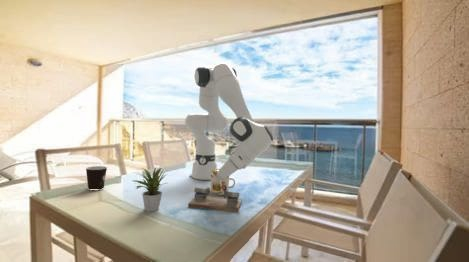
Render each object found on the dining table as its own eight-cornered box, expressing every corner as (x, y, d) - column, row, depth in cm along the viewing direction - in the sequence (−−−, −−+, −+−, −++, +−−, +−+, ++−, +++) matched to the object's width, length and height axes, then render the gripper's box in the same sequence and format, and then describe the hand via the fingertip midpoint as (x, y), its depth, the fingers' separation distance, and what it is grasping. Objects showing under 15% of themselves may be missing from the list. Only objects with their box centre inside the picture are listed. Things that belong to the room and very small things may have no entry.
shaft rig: (197, 198, 112) (197, 183, 112) (241, 202, 109) (242, 187, 109) (188, 207, 100) (188, 190, 100) (237, 212, 97) (238, 195, 97)
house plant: (141, 201, 104) (142, 162, 104) (174, 203, 104) (175, 163, 103) (125, 213, 90) (126, 168, 89) (163, 215, 90) (165, 170, 89)
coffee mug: (95, 192, 113) (95, 170, 113) (80, 189, 116) (81, 168, 116) (115, 186, 124) (115, 166, 124) (101, 184, 127) (102, 164, 127)
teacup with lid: (209, 195, 118) (210, 170, 117) (210, 189, 127) (211, 166, 126) (235, 196, 118) (236, 171, 118) (234, 190, 127) (235, 167, 127)
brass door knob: (212, 189, 107) (213, 168, 107) (223, 190, 106) (224, 169, 106) (209, 192, 102) (210, 170, 102) (221, 193, 101) (222, 171, 101)
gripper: (238, 149, 113) (216, 169, 115) (231, 155, 93) (204, 179, 94) (248, 160, 112) (225, 180, 114) (242, 167, 92) (215, 192, 94)
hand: (215, 179), depth 104 cm, fingers closed on brass door knob, 4 cm apart
